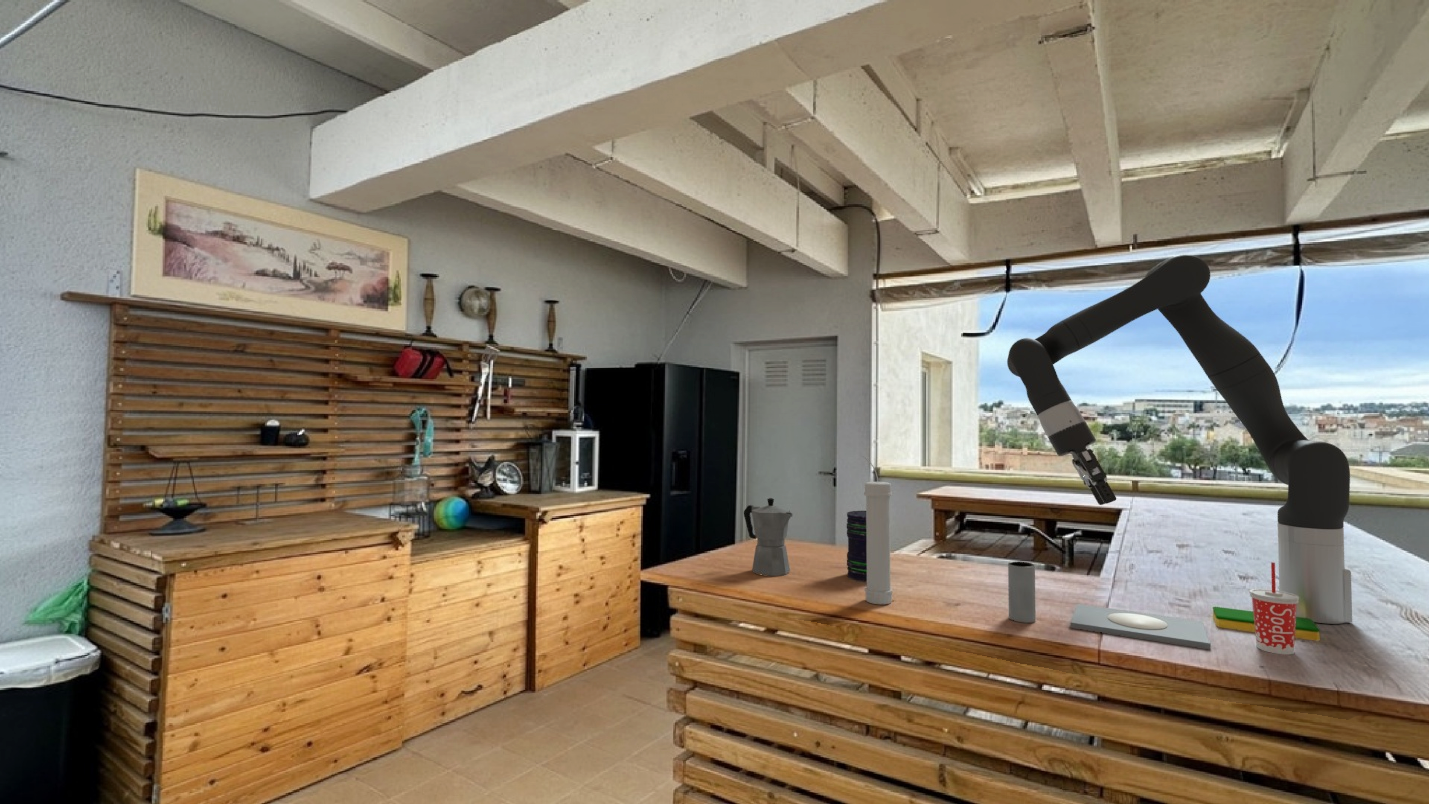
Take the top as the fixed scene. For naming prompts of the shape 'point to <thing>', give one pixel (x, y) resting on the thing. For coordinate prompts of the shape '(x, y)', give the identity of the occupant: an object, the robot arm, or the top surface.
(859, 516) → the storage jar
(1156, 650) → the top surface
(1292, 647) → the beverage cup
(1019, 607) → the gray cylinder
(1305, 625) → the dish sponge
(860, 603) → the top surface
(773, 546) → the coffeepot
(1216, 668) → the top surface
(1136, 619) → the slate board
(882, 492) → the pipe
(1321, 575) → the robot arm
